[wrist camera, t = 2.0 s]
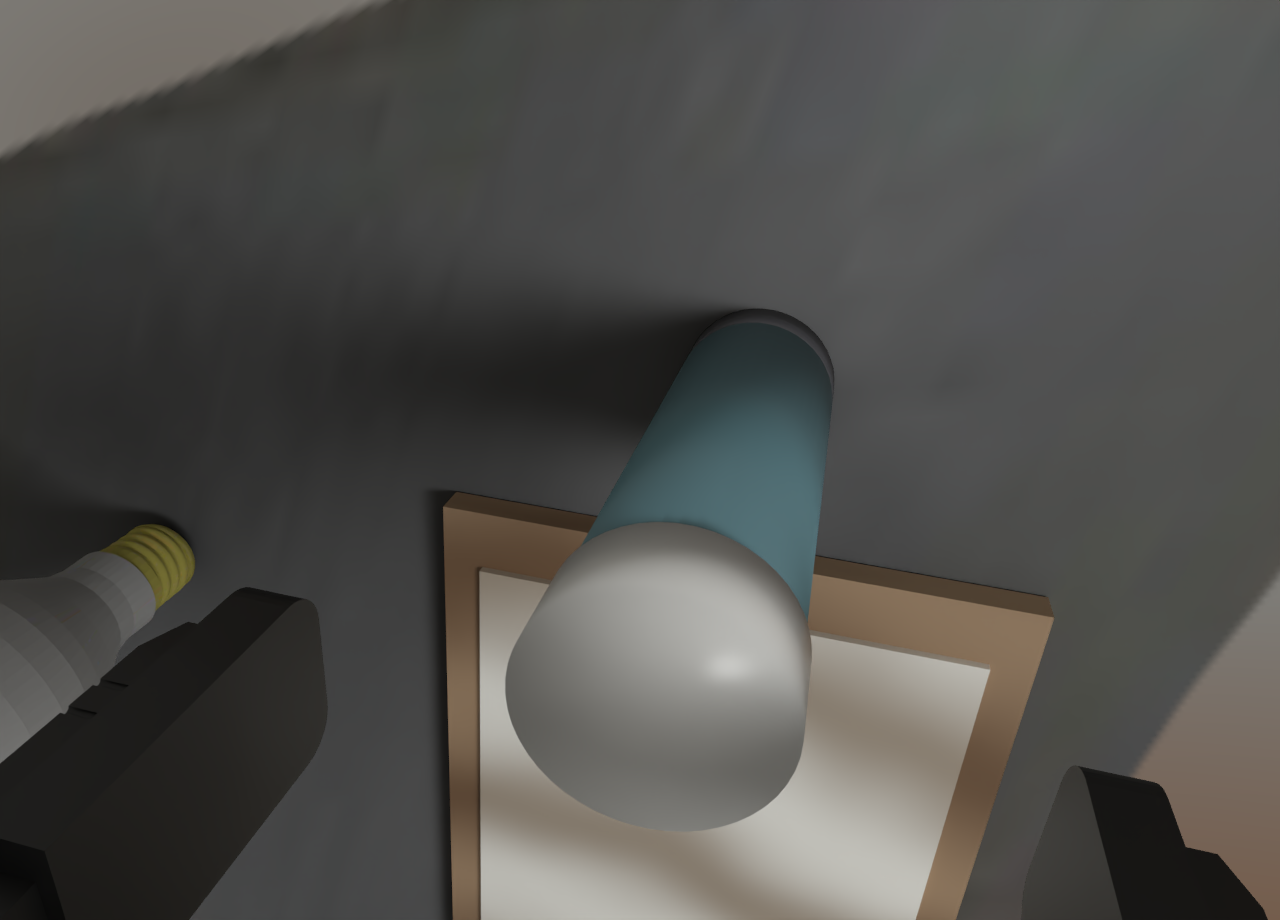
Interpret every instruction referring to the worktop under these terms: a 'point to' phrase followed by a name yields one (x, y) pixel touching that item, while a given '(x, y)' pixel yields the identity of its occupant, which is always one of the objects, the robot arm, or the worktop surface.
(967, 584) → the clipboard
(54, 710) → the light bulb
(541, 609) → the bottle
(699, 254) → the worktop surface
